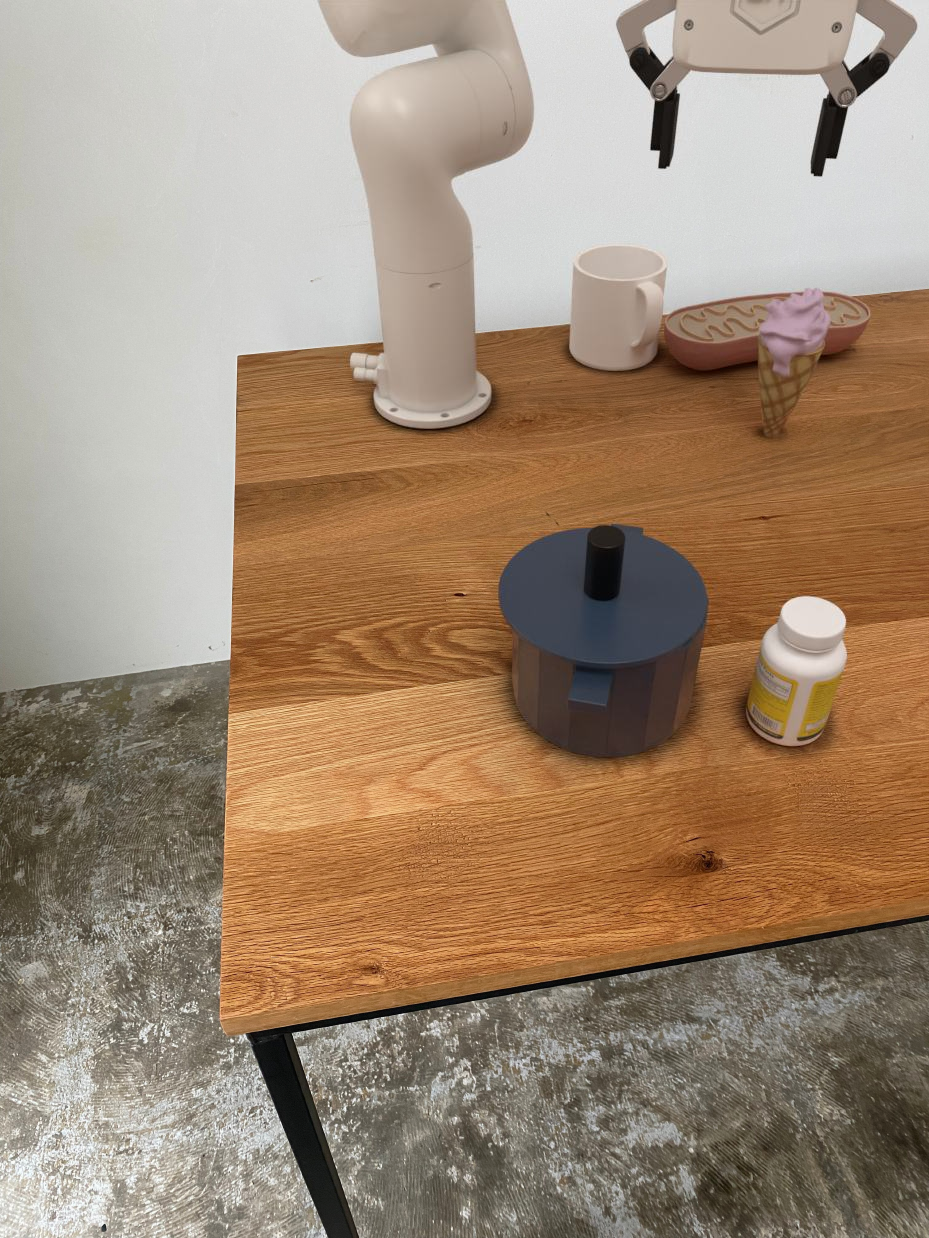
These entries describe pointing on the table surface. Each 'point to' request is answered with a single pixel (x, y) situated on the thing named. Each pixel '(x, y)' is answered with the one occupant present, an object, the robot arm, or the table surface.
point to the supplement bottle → (798, 672)
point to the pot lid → (602, 597)
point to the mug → (616, 306)
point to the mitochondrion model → (750, 328)
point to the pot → (605, 698)
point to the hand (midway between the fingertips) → (739, 166)
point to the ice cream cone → (789, 354)
